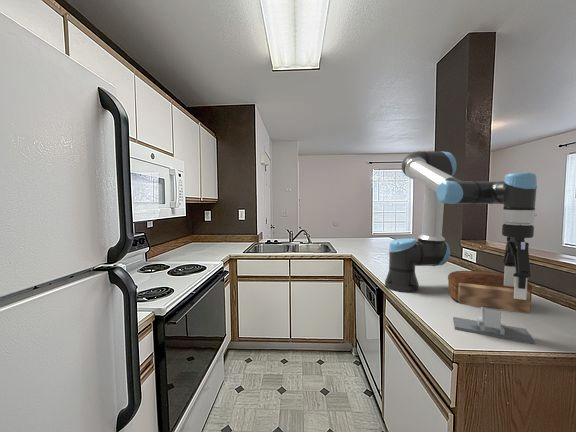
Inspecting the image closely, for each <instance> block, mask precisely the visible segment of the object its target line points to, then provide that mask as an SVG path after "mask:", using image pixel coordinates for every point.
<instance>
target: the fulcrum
mask: <svg viewBox="0 0 576 432" xmlns="http://www.w3.org/2000/svg"><path fill="white" fill-rule="evenodd" d="M476 317H477V318H476V319H469V318H464V317H463V318H462V317H458V316H457V317H456V316H452V320H453V321H452V322H453V327H454V330H457V331H458V330H459V331H463V332H469V333H473V334H479V335H485V336H491V337H496V338H501V339H507V340H513V341H518V342H525V343H529V344H535V343H536V341H535V340H534V338H533V337H532V336H531V334H530V333H529V331H528V329H526V328H524V327H518V326H511V325H506V324H502V311H501V310H500V309H493V308H486V307H480V316H476Z"/></svg>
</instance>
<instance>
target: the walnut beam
mask: <svg viewBox="0 0 576 432" xmlns="http://www.w3.org/2000/svg"><path fill="white" fill-rule="evenodd" d="M457 302H458V304H460V305H465V306H472V307H473V306H474V307H480V308H481V307H486V308H493V309H500V311H501V310H502V311H509V312H515V313H523V314H530V308H531V307H530V306H531V303H530V293H529V292H528V291H527V296H526V300H522V299H515V298H514V289H511V288H502V287H493V286H484V285H476V284H467V283H459V289H458V301H457Z"/></svg>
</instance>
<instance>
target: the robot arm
mask: <svg viewBox="0 0 576 432" xmlns="http://www.w3.org/2000/svg"><path fill="white" fill-rule="evenodd" d="M401 171H402V173H403V175H405V176H406V177H407V178H409V179H412V180H417V181H418V182H420V183H421V184H423V185H424V192H423V204H422V205H423V207H422V225H421V234H419V235H418V237H417V240H416V239H415V238H410V237H409V238H396V239H393V240H391V241H390V243H389V249H388V253H389V254H388V255H389V256H388V257H389V258H388V259H389V260H388V261H389V262H388V265H389V267H388V272H387V274H386V278H385V280H384V287H386V288H387V289H389V290H393V291H397V292H402V293H403V292H405V293H412V292H413V293H414V292H418V291H419V289H420V288H419V287H420V285H419V284H420V283H419V280H418V278H417V274H416V267H421V266H422V267H425V266H427V267H428V266H429V267H436V266H437V267H438V266H443V265H445V264H446V263H447V262H448V261H449V260H450V256H451V248H450V245H449V243H448V242H446V238H445V237H444V236H443V223H444V211H445V210H444V206H445V204H449V205H455V204H456V205H459V204H462V205H466V204H467V205H470V204H472V205H473V204H474V205H503V206H502V207H503V209H502V222H503V224H502V226H501V227H502V228H501V235H502V236H503V237H506V244H505V248H504V249H505V251H504V255H503V264H504V271H503V272H504V286H511V287H514V298H515V299H522V300H526V296H527V282H528V278H531V267H530V266H531V265H530V254H529V252H530V251H529V246H530V244H529V242H525V239H532V238H533V237H534V232H535V226H534V225H533V224H534V223H535V217H537V216H538V213H535V212H536V199H537V189H538V186H537V182H538V181H537V175H536V174H535V173H533V172H514V173H513V172H511V173H506V174H505V176H504V180H502V181H500V180H499V181H468V180H467V181H465V180H460V179H458V178H456V177H454V175H455V173H456V171H457V160H456V158H455V156H454V155H453V154H452V153H451V152H449V151H442V150H441V151H437V150H436V151H425V150H424V151H423V150H422V151H420V150H419V151H413V152H410V153H408V154H407V155H406V156H405V157H404V158H403V160H402V162H401Z"/></svg>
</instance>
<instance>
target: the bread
mask: <svg viewBox="0 0 576 432" xmlns="http://www.w3.org/2000/svg"><path fill="white" fill-rule="evenodd" d="M447 280H448V283H447V284H448V294H449V296H450V297H451V298H452V299H453V300H454V301H456V302H459V301H458V289H459V283H467V284H476V285H484V286H493V287H502V288H511V289H514V287H511V286H504V273H503V272H497V271H487V270H455V271H451V272H449V274H448V275H447ZM527 291H528V292H529V293H530V304H531V303H532V293H533V286H531V284H530V283H529V282H528V281H527Z"/></svg>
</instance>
